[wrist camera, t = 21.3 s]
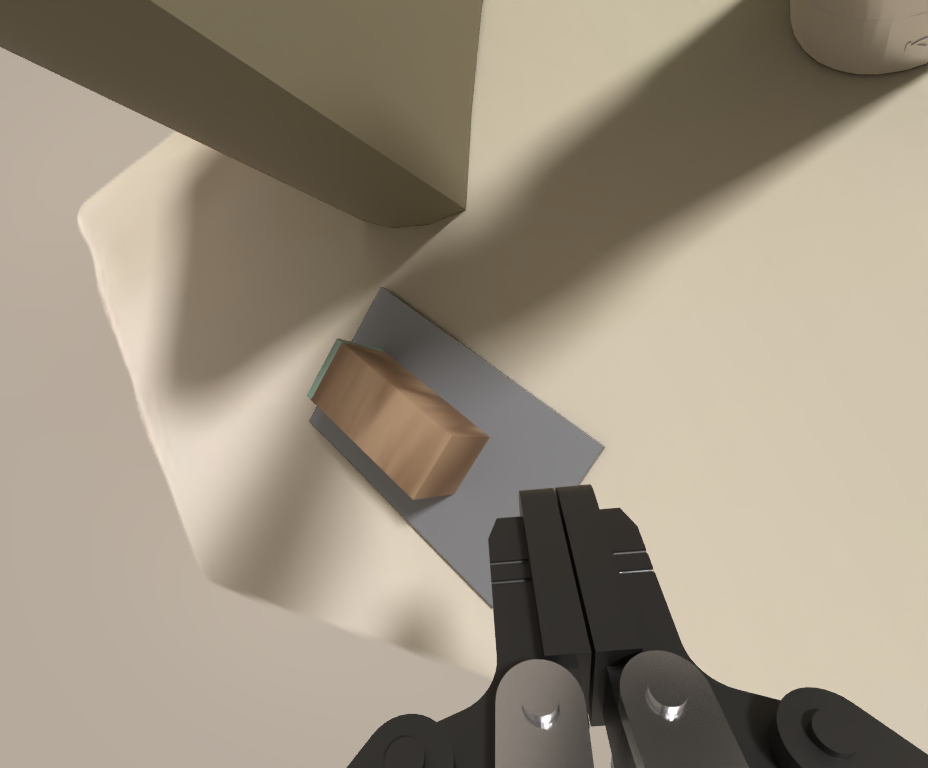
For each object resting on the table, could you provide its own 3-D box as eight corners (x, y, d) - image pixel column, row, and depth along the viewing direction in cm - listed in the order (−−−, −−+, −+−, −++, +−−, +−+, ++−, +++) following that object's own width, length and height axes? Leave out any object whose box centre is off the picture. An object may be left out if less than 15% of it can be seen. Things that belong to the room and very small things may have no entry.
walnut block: (454, 494, 35) (352, 400, 41) (490, 437, 34) (381, 348, 40) (413, 499, 31) (306, 395, 37) (452, 436, 31) (337, 338, 36)
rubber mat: (312, 421, 43) (309, 421, 43) (384, 288, 41) (381, 286, 40) (496, 606, 33) (493, 608, 33) (605, 446, 31) (603, 447, 31)
